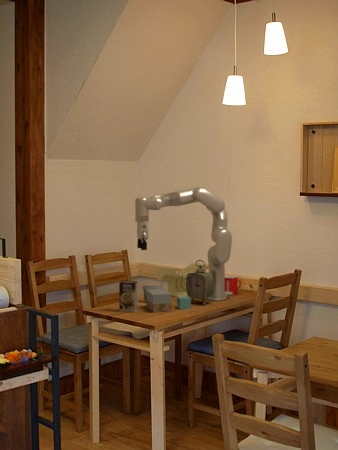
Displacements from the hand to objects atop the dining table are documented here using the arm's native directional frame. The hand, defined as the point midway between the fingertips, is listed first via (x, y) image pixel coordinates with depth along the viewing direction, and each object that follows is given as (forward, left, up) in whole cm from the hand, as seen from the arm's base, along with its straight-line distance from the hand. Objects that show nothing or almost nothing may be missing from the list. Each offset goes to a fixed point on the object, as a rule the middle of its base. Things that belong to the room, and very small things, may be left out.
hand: (142, 249), depth 377 cm
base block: (-5, +19, -32) cm, 37 cm away
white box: (-5, +19, -26) cm, 33 cm away
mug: (-59, -11, -31) cm, 68 cm away
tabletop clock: (-32, +10, -31) cm, 46 cm away
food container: (-7, 0, -31) cm, 32 cm away
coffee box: (+12, +19, -31) cm, 39 cm away
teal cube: (-19, +20, -31) cm, 42 cm away
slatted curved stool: (-30, -18, -31) cm, 47 cm away
